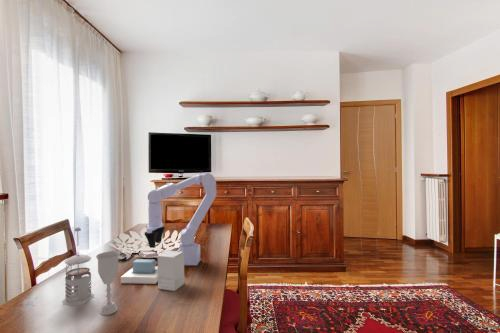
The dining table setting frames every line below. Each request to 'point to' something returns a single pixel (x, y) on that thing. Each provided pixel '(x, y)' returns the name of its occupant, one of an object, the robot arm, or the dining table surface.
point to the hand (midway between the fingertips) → (155, 245)
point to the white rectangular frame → (140, 277)
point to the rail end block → (144, 266)
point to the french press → (77, 280)
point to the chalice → (108, 277)
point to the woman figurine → (123, 255)
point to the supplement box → (170, 270)
